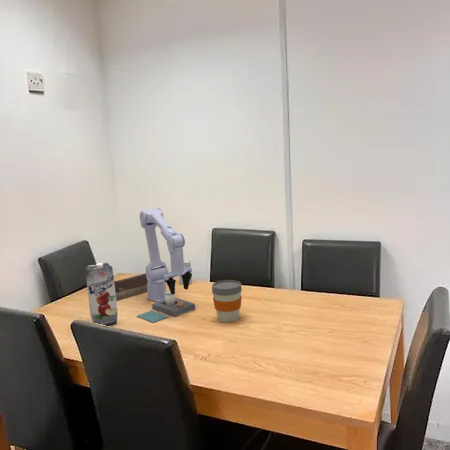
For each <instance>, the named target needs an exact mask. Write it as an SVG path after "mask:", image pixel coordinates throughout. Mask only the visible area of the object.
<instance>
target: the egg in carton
mask: <svg viewBox="0 0 450 450" xmlns="http://www.w3.org/2000/svg"><path fill="white" fill-rule="evenodd" d="M177 303H178V307H179V308H181V307H183V301H177Z"/></svg>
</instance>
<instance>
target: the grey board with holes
mask: <svg viewBox="0 0 450 450" xmlns="http://www.w3.org/2000/svg"><path fill="white" fill-rule="evenodd" d="M177 301H183V307H181V308H179V307H178V303H177ZM151 308H152V311H155V312H158V313H161V314H164V315H167V316H170V317H171V316H172V318H173V317H174V318H176V317H178V316H181V315H183V314H185V313H189V312H191V311H194V310H196V303H193V302H191V301H187V300H184V299H181V298H177V297H175V304H174V305H171V306H167V305H166V301H165V300H162V301H159V302H156V301H155V302H153V303H152V304H151Z"/></svg>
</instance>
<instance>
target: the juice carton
mask: <svg viewBox="0 0 450 450" xmlns="http://www.w3.org/2000/svg"><path fill="white" fill-rule="evenodd" d="M85 279H86V286H87V287H86V288H87V298H88V303H89V313H90V318H91V320H92V323H93V322H94V323H98V324H103V325H108V326H112V325H116V324H117V321H118V305H117V301H116V294H115V284H114V281H115V277H114V272H113V266H111V265H110V264H109V263H108V262H97V263H96V264H91V265H87V266H85ZM94 323H93V324H94Z"/></svg>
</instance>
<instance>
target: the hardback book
mask: <svg viewBox="0 0 450 450" xmlns="http://www.w3.org/2000/svg"><path fill="white" fill-rule="evenodd" d="M147 283H148V280H147V278H146V272H145V273H142V274H141V273H140V274H138V275H133V276H130V277H126V278H123V279H119V280H118V279H117V280H114V284H115V294H116V302H118V301H122V300H124V299H129V298H131V297H136V296H139V295H142V294H146V293H147Z"/></svg>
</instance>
